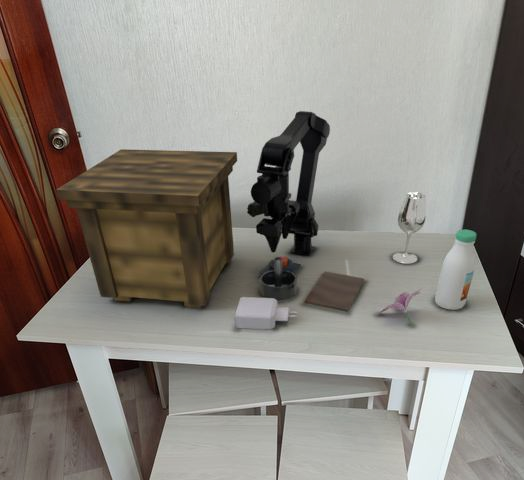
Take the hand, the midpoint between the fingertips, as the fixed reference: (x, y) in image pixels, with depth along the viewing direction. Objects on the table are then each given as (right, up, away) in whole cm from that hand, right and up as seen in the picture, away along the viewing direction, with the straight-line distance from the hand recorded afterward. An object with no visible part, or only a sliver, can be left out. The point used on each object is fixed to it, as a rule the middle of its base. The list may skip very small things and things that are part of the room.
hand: (279, 245), depth 136 cm
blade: (0, -14, -3) cm, 14 cm away
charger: (-3, -23, -14) cm, 27 cm away
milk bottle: (+45, -18, -10) cm, 50 cm away
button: (+1, -5, +5) cm, 7 cm away
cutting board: (+16, -14, -4) cm, 22 cm away
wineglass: (+40, -2, +11) cm, 42 cm away
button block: (+1, -7, +7) cm, 10 cm away
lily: (+31, -22, -15) cm, 40 cm away
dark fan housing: (0, -14, -3) cm, 14 cm away
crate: (-32, -10, +5) cm, 34 cm away
